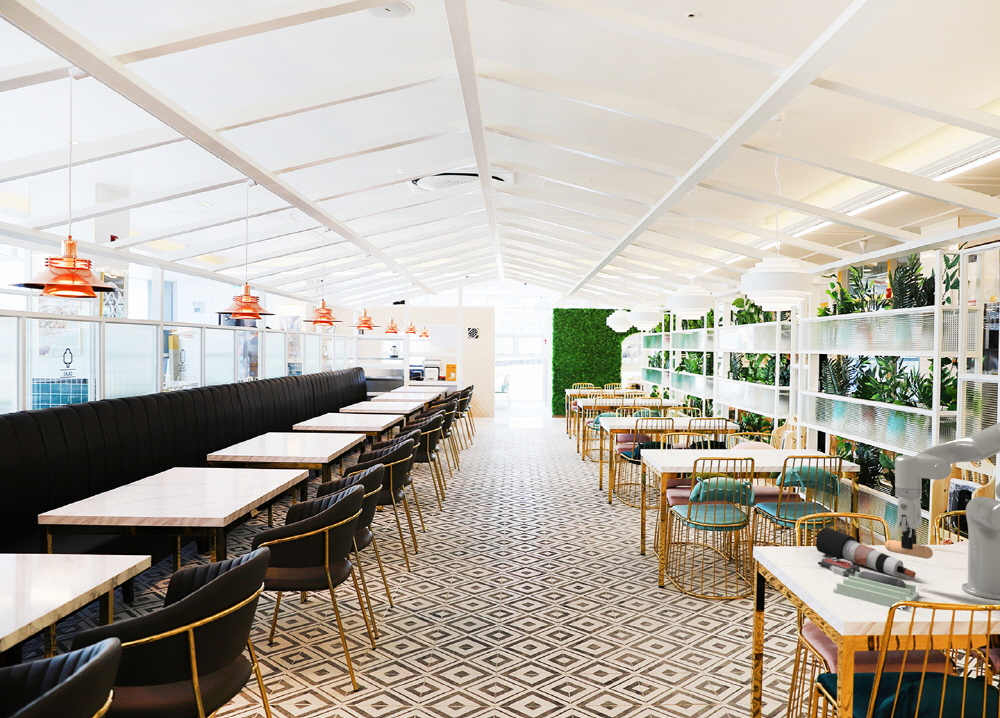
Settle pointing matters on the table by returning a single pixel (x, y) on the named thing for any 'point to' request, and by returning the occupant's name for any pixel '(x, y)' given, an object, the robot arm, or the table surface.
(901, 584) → the gray pill-shaped rod
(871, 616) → the table surface
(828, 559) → the walkie-talkie
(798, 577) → the table surface
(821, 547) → the cable
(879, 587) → the rack
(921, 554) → the tan capsule
